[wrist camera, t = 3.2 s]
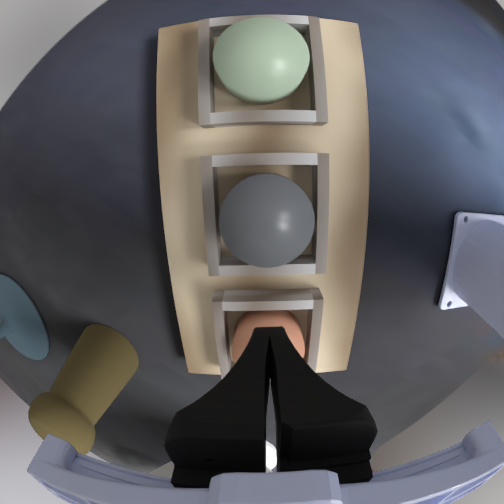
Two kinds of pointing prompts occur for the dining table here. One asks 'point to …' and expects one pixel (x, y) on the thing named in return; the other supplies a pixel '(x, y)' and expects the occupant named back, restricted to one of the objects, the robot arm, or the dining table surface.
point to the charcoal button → (266, 220)
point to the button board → (260, 161)
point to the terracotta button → (266, 320)
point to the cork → (85, 387)
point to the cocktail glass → (21, 321)
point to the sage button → (261, 60)
